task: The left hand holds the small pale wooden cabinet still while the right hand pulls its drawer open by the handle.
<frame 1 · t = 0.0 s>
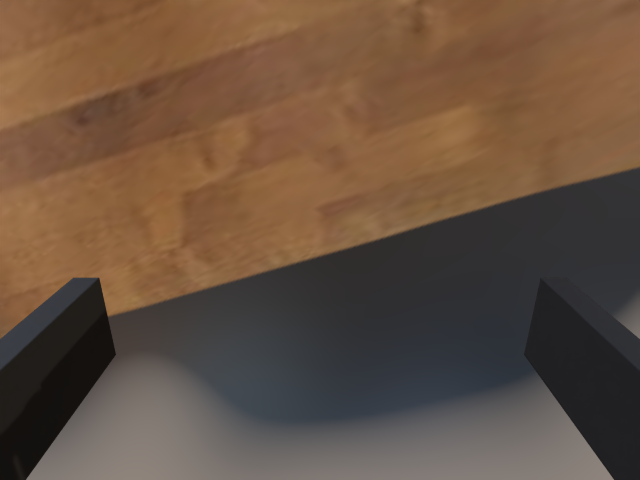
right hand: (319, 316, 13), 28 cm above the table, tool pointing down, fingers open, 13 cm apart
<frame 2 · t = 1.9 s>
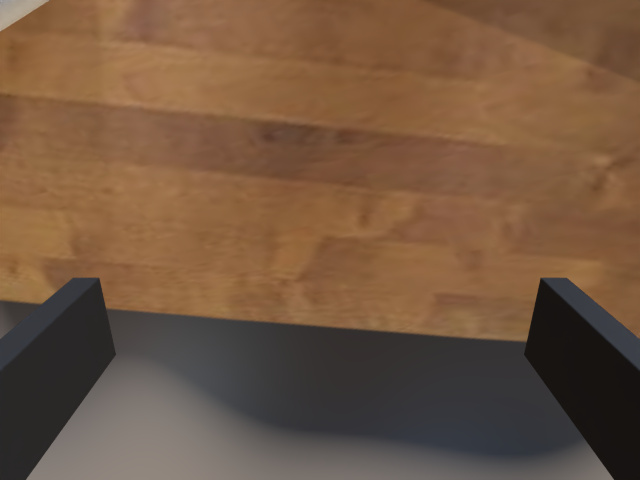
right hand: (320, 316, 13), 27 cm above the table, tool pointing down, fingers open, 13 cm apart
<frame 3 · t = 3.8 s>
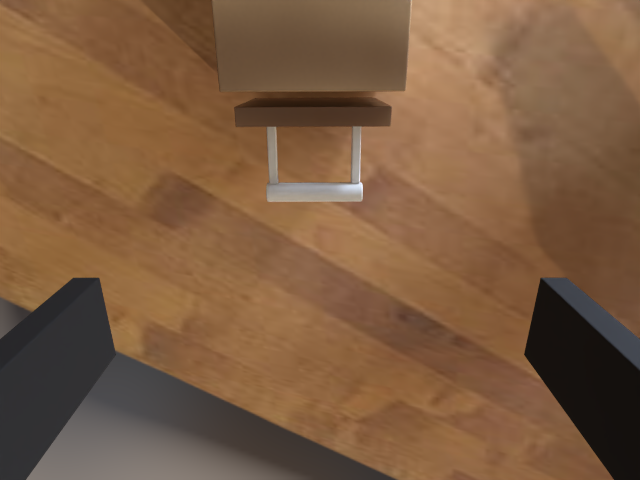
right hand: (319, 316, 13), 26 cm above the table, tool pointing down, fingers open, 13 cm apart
drawer: (313, 25, 28), point 5 cm above the table, slide at 0.9 cm
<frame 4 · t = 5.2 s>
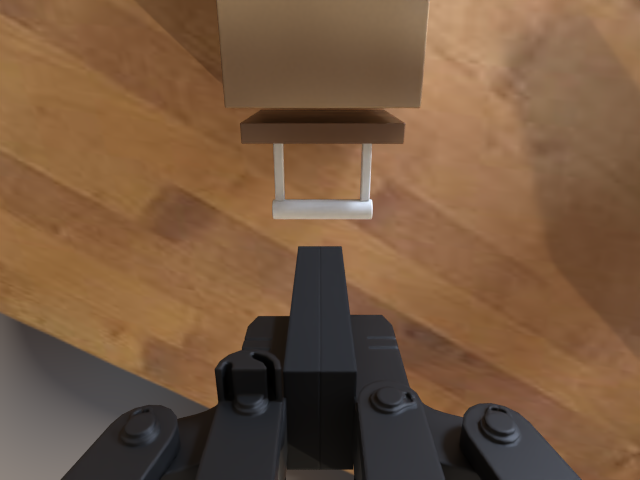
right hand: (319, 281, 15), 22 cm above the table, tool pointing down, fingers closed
drawer: (322, 37, 27), point 5 cm above the table, slide at 0.9 cm
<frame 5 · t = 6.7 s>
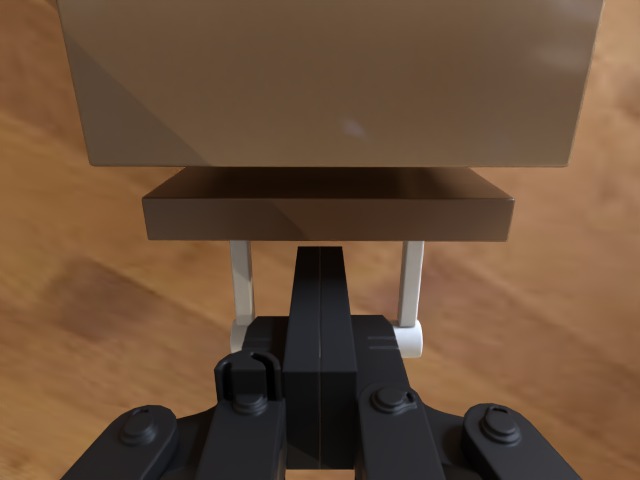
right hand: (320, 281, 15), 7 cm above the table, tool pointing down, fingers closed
drawer: (327, 9, 13), point 5 cm above the table, slide at 1.0 cm
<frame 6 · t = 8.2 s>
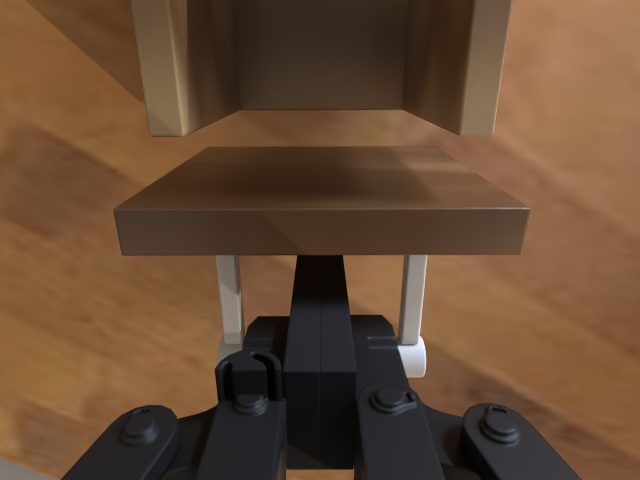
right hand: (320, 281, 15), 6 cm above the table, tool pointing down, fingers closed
drawer: (320, 0, 12), point 5 cm above the table, slide at 7.9 cm, touching right hand
when the left hand's fingers open (6 cm above the table, at t = 9.9 s): cabinet stays where it is, on the table.
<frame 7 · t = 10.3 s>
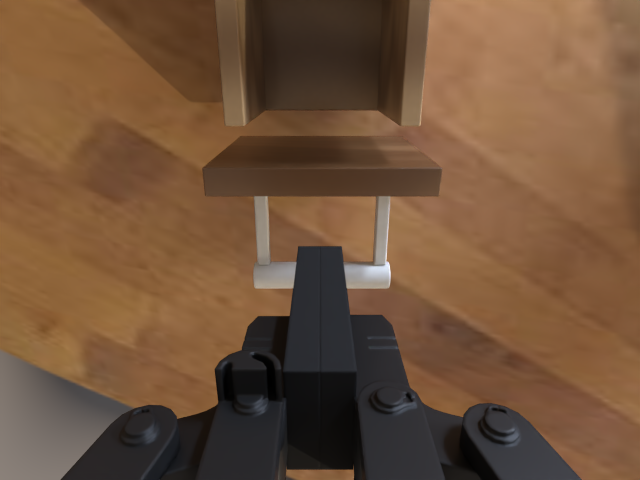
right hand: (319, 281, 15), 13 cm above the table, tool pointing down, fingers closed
drawer: (322, 42, 19), point 5 cm above the table, slide at 7.9 cm
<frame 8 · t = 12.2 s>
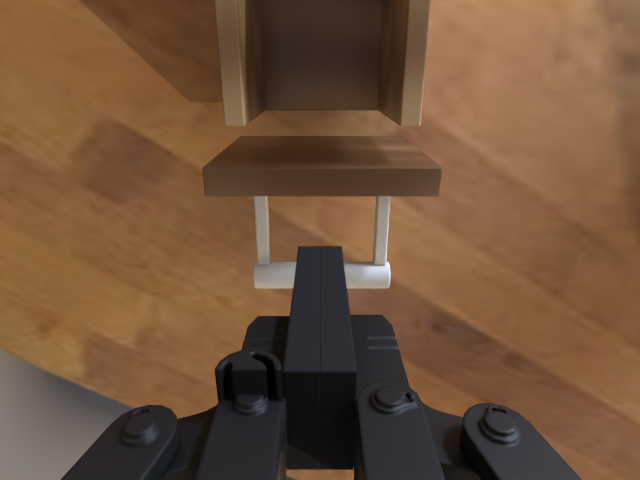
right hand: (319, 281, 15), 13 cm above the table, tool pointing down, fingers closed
drawer: (322, 42, 19), point 5 cm above the table, slide at 7.9 cm
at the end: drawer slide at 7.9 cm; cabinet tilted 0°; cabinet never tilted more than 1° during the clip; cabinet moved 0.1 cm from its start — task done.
